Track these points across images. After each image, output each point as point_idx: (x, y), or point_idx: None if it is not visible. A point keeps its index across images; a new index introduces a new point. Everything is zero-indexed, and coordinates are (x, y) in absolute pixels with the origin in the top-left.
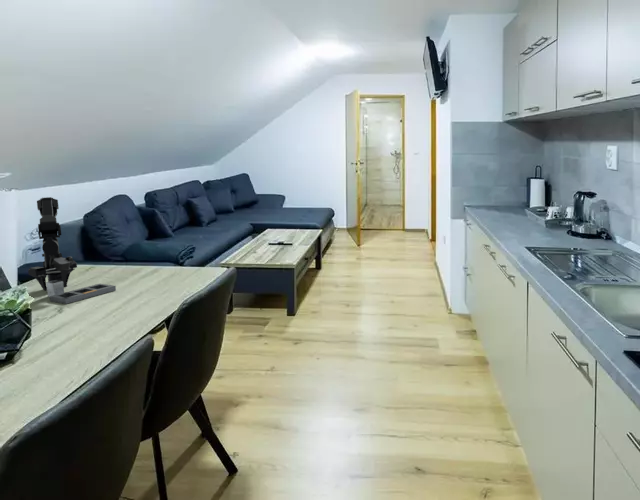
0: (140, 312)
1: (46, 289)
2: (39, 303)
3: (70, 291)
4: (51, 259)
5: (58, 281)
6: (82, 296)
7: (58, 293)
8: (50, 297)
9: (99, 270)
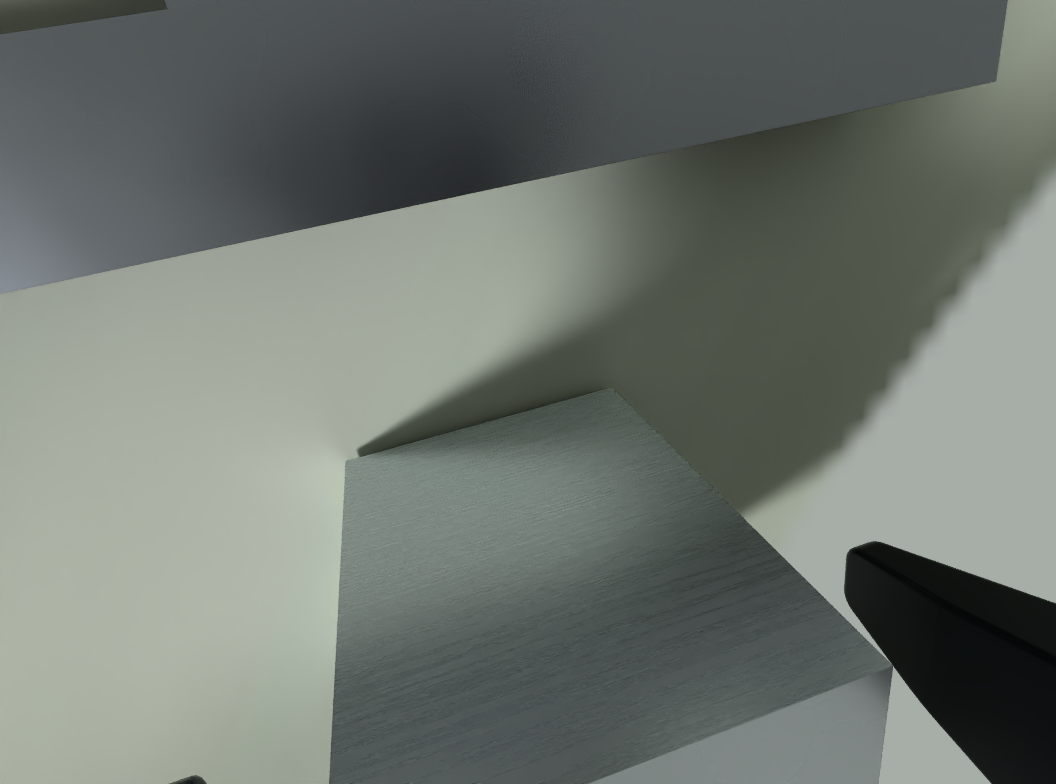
0: None
1: (881, 566)
2: (1025, 158)
3: (226, 151)
4: None
5: None
6: None
7: (526, 454)
8: (969, 38)
9: None
